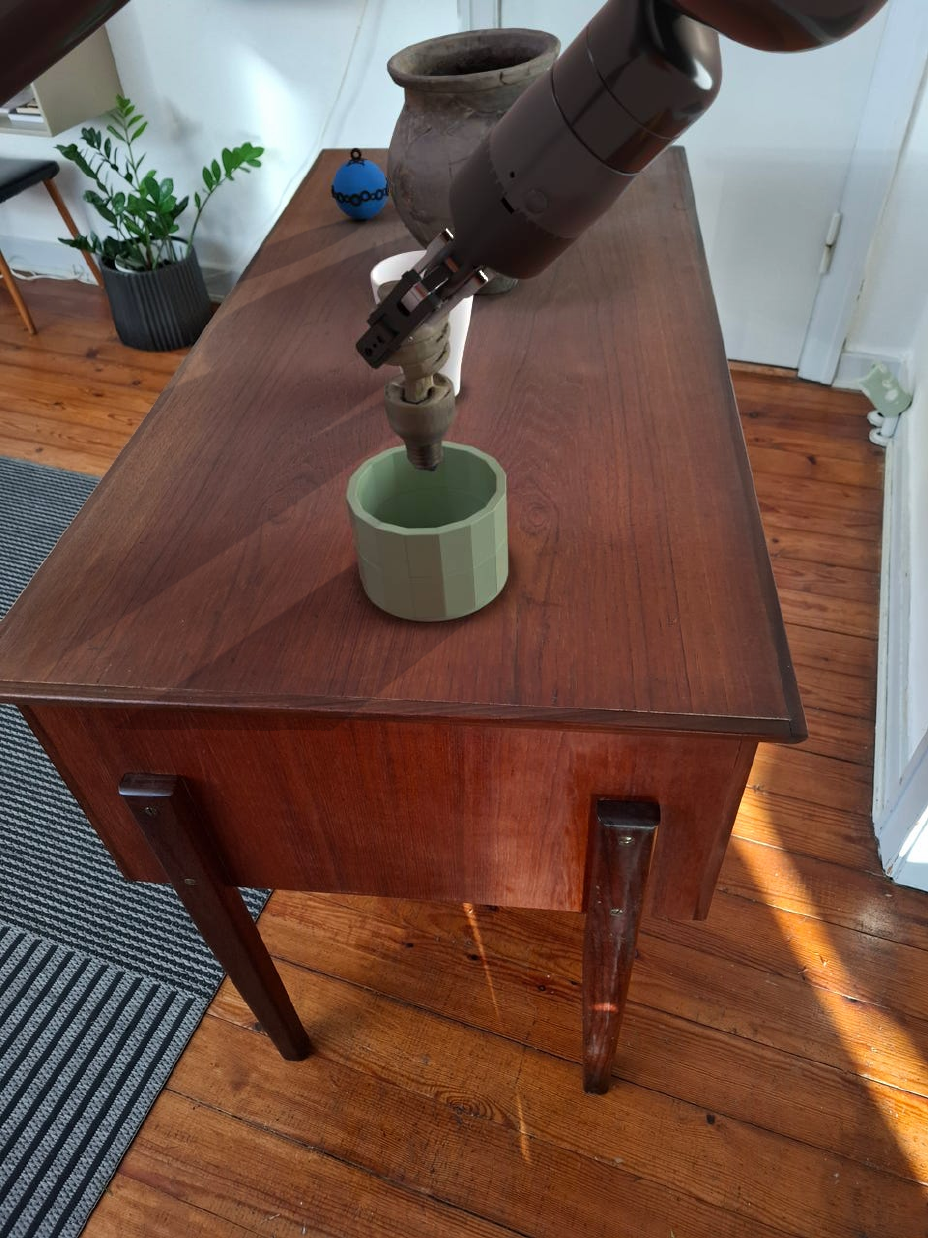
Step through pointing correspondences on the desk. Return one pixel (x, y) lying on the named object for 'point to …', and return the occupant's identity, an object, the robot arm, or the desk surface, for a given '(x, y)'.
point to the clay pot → (455, 116)
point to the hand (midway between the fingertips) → (391, 336)
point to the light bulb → (420, 391)
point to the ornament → (360, 187)
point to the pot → (430, 532)
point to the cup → (457, 319)
